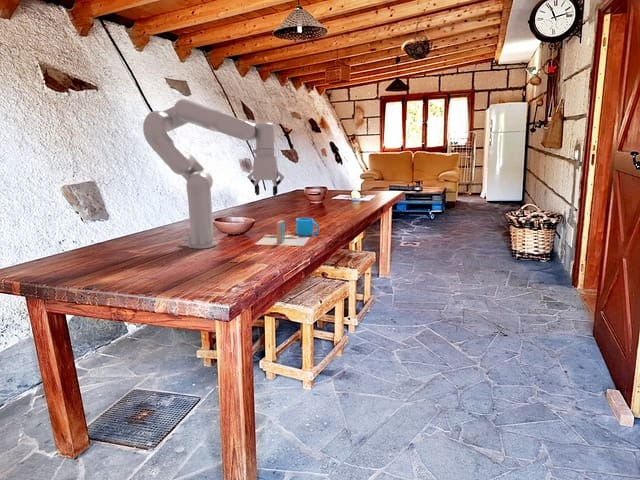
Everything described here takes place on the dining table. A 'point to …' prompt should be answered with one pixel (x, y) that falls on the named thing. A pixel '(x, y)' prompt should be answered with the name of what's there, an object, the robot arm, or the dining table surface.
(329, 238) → the dining table surface
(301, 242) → the board
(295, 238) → the turner
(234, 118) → the robot arm
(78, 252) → the dining table surface
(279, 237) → the tile
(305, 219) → the mug
